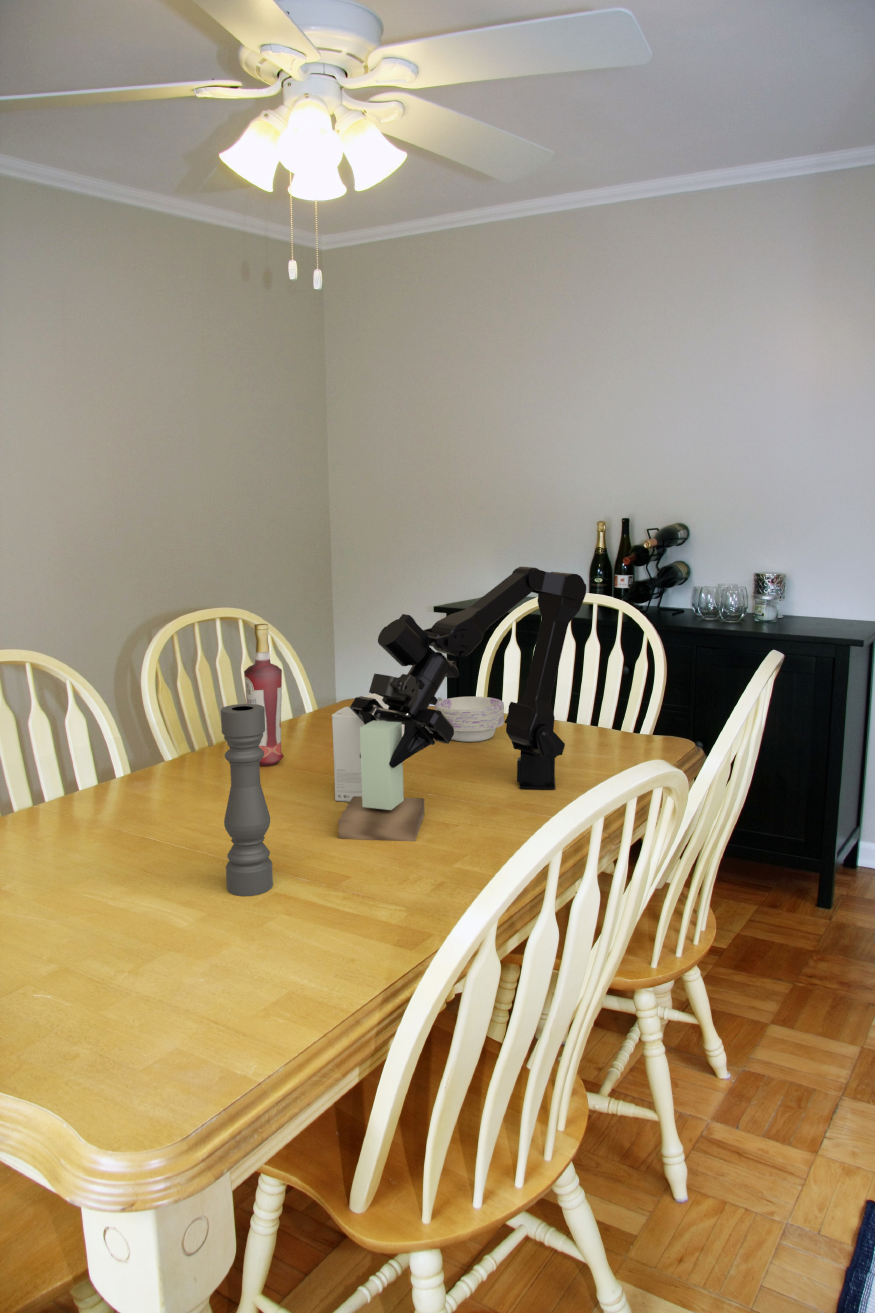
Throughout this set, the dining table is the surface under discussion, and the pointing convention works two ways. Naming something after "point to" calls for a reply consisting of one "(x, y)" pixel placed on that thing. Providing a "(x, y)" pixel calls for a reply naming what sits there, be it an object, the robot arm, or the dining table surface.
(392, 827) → the walnut block
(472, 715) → the paper bowls
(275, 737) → the liquor
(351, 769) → the skincare box
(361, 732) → the sage pillar block
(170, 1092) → the dining table surface
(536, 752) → the robot arm
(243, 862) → the candle holder
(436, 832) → the dining table surface
